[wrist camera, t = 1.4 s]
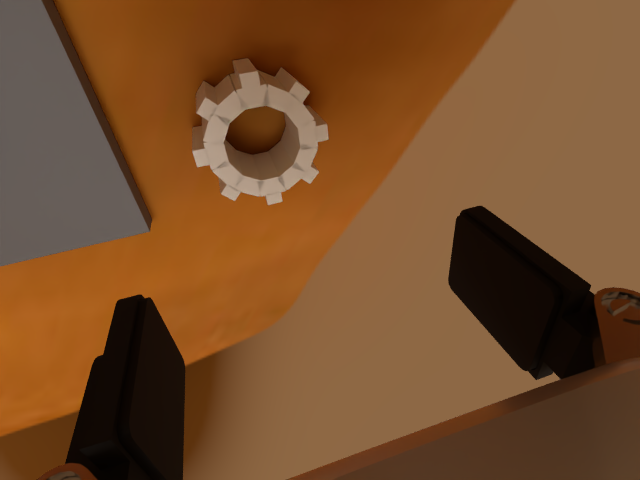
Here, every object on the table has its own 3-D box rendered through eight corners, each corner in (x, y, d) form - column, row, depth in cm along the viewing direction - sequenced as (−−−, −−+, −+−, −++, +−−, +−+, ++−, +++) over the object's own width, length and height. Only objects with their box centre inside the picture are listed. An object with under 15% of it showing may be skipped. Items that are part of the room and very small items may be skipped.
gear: (174, 70, 20) (170, 85, 17) (302, 49, 21) (321, 60, 18) (211, 187, 24) (214, 217, 21) (316, 164, 26) (333, 189, 22)
